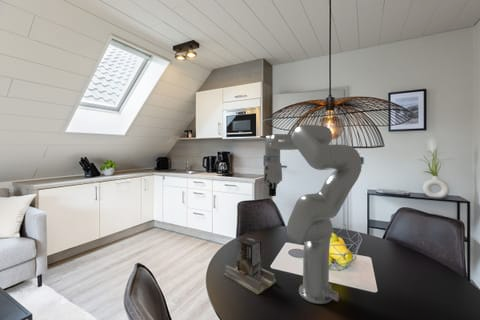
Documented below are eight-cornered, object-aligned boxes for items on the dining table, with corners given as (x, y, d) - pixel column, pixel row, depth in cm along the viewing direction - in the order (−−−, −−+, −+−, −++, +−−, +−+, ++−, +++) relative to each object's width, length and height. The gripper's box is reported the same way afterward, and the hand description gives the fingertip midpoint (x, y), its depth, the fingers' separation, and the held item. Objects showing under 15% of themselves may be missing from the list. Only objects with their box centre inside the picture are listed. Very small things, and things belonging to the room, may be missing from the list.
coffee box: (262, 277, 103) (262, 241, 103) (252, 283, 99) (252, 245, 98) (246, 270, 110) (246, 235, 109) (236, 275, 105) (236, 239, 104)
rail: (242, 266, 116) (242, 256, 115) (276, 282, 102) (276, 271, 101) (223, 275, 107) (223, 265, 107) (257, 294, 93) (257, 282, 93)
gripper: (269, 160, 112) (269, 199, 113) (287, 159, 123) (287, 194, 124) (257, 160, 118) (257, 196, 119) (275, 159, 128) (275, 192, 129)
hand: (272, 195), depth 121 cm, fingers closed
